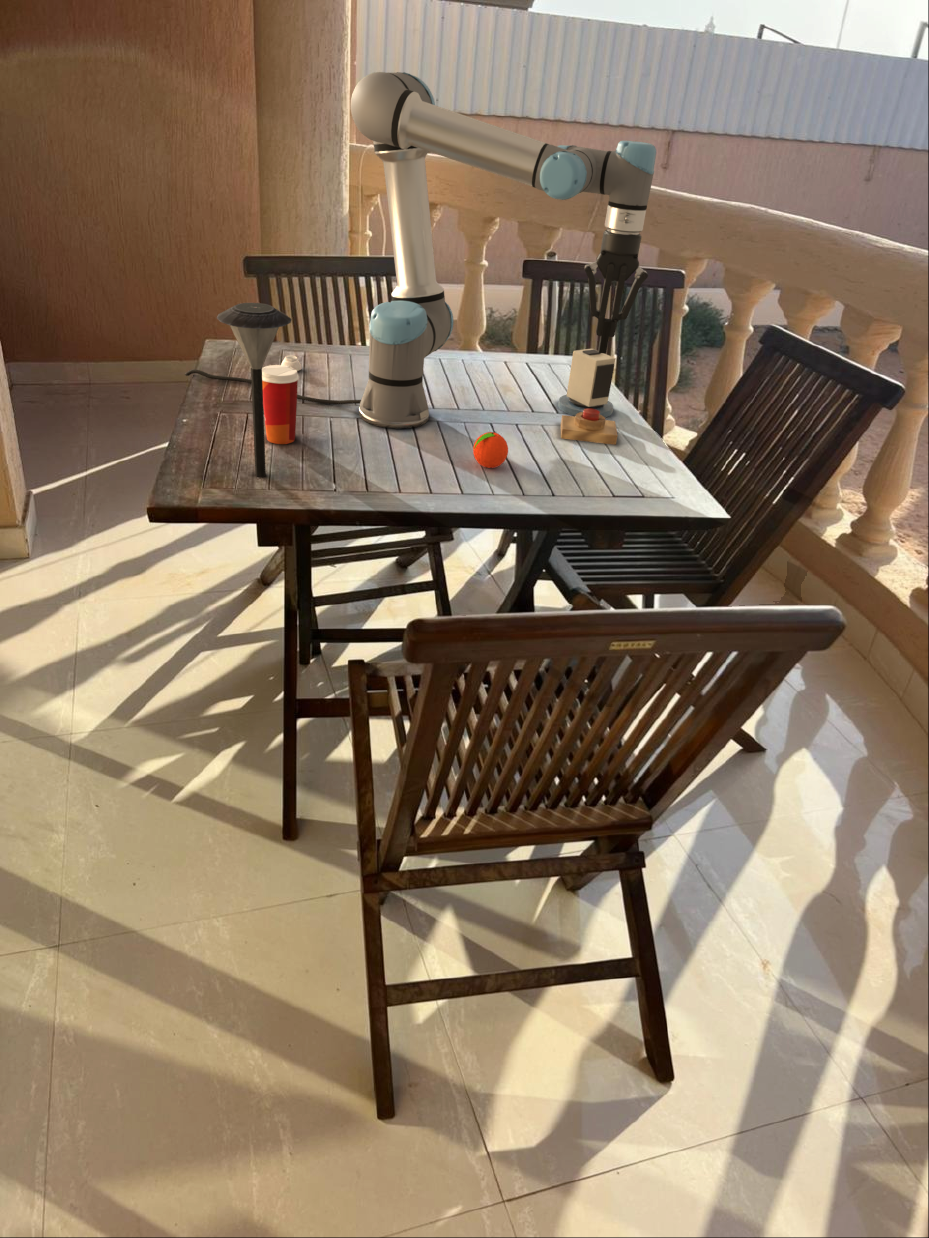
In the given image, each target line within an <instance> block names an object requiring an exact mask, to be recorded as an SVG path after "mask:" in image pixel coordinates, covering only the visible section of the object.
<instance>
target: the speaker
mask: <svg viewBox="0 0 929 1238" xmlns="http://www.w3.org/2000/svg"><path fill="white" fill-rule="evenodd" d="M616 359H617V358H616V357H614V356H612V355H609V354H607V353H606V354H603V353H599V351H598V349H594V348H586V349H585V348H584V349H577V350H573V352H572V357H571V365H570V370H569V376H568V384H567V390H566V395H567V397H569V401H570V402H571V403H573V404H575V405H578V406H582V407H588V408H597V407H602V406H603V405H604V404H607V403H608V401H609V398H610V392H611V387H612V380H613V376H614V370H615V365H616Z"/></svg>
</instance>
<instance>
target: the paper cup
mask: <svg viewBox="0 0 929 1238" xmlns="http://www.w3.org/2000/svg"><path fill="white" fill-rule="evenodd" d="M299 380H300V375H299V373H298V371H297V370H295V369H294V368H291V367H289V366H285V365H281V364H271V365H266V366H264V367H262V383H263V411H264V428H265V435H266V440H267V441H268V442H269V443H272V444H276V445H287V444H291V443H293V442H295V441H296V431H297V428H296V427H297V407H298V399H297V395H298V385H299V383H298V382H299Z"/></svg>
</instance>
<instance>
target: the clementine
mask: <svg viewBox="0 0 929 1238" xmlns="http://www.w3.org/2000/svg"><path fill="white" fill-rule="evenodd" d="M472 453H473V457H474V460H476V462H477V463H478V464H479V465H480V466H482V467H484V468H488V469H495V468H498V467H500V466H501V465H502V464H503V463H504V462H505V461H506V459H507V457H508V454H509V446H508V442H507V441H506V439H505V437H503V436H502V435H501V434H499V433H498V432H493V431H487V432H484V433H483V434H482V433H481V434H480V435H479V436H478V437H477V438H476V440H475V441H474V443H473V447H472Z"/></svg>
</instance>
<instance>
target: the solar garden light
mask: <svg viewBox="0 0 929 1238" xmlns="http://www.w3.org/2000/svg"><path fill="white" fill-rule="evenodd" d="M216 319H217V320H218V321H219V323H222V324H225V325H227V326H229V327H230V329H231V331H232V333H233V336H234V337H235V339H236V341H237V344H238V345H239V347H240V349H241V351H242V353H243V355H244V357H245V359H246V361H247V363H248V365H249V367H250V376H251V377H250V379H251V383H252V384H251V383H250V384H251V404H252V424H253V425H252V426H253V449H254V474H255V475H254V476H256V477H258V478H263V477H266V475H267V474H266V473H267V470H266V468H267V467H266V446H265V445H266V444H265V417H264V407H263V383H262V368H263V366H264V363H265V362H266V359H267V357H268V354H269V352H270V349H271V347H272V346H273V343H274V340H275V338H276V336H277V333H278V331H279V328H280V327H285V326H288V325H289V324H291V323H292V320H293V319H292V318H291V316H290V317H289V315H287V314H286V313H284V312H282V311H281V310H279V309H277V308H276V307H274V306H272V305H270V304H267V303H261V302H241V303H237V304H235V305H233V306H231V307H230V308H229V307H228V309H225V310H224V311H222V312H219V313H218V314H217V316H216Z"/></svg>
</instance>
